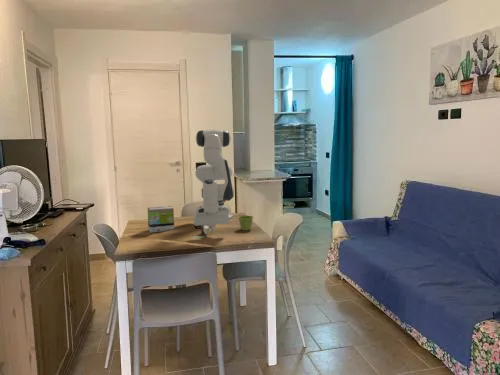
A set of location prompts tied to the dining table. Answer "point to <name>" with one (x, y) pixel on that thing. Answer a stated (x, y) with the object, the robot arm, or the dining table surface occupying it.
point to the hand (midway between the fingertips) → (211, 232)
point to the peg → (205, 229)
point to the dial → (201, 237)
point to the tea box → (160, 218)
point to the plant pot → (245, 222)
